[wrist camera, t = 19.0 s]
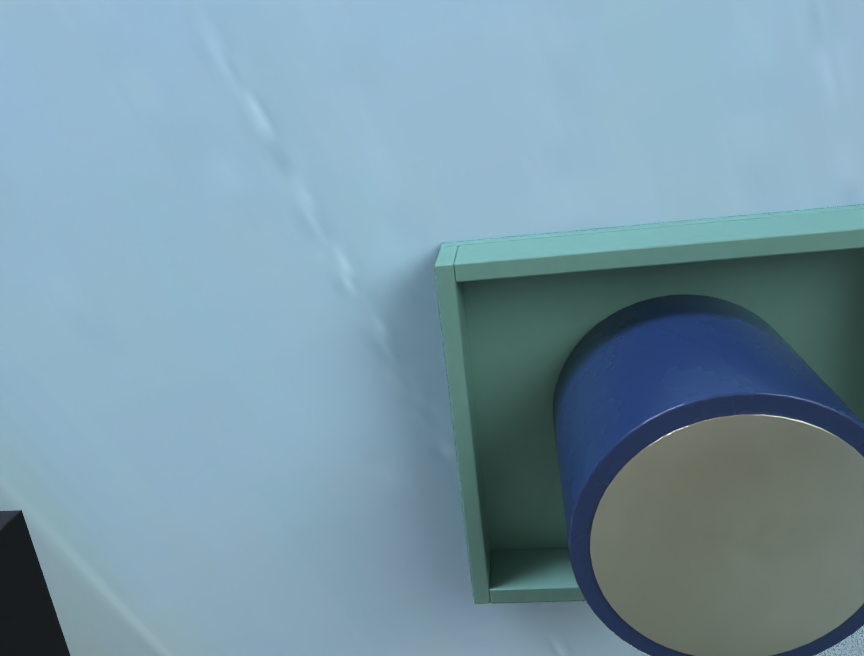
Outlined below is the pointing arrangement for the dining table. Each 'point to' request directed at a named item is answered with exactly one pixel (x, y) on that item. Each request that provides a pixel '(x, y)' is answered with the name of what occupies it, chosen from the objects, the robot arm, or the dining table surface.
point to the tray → (579, 313)
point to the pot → (709, 484)
